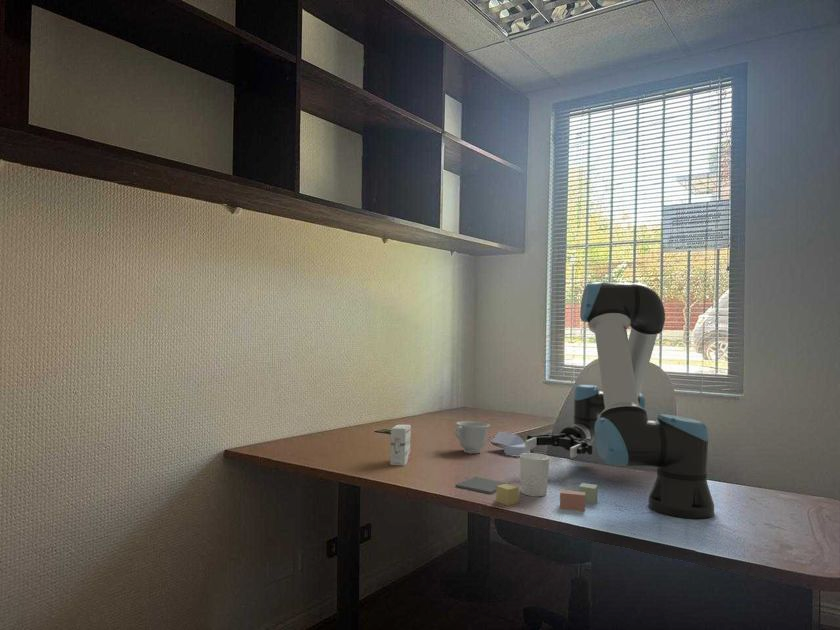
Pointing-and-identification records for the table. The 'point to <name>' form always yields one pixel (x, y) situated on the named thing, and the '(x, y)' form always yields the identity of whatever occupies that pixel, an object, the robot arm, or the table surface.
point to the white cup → (534, 474)
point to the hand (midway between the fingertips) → (548, 449)
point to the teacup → (471, 435)
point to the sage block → (589, 492)
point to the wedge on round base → (511, 443)
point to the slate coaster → (480, 485)
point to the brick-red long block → (572, 500)
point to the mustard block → (507, 494)
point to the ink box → (400, 444)
